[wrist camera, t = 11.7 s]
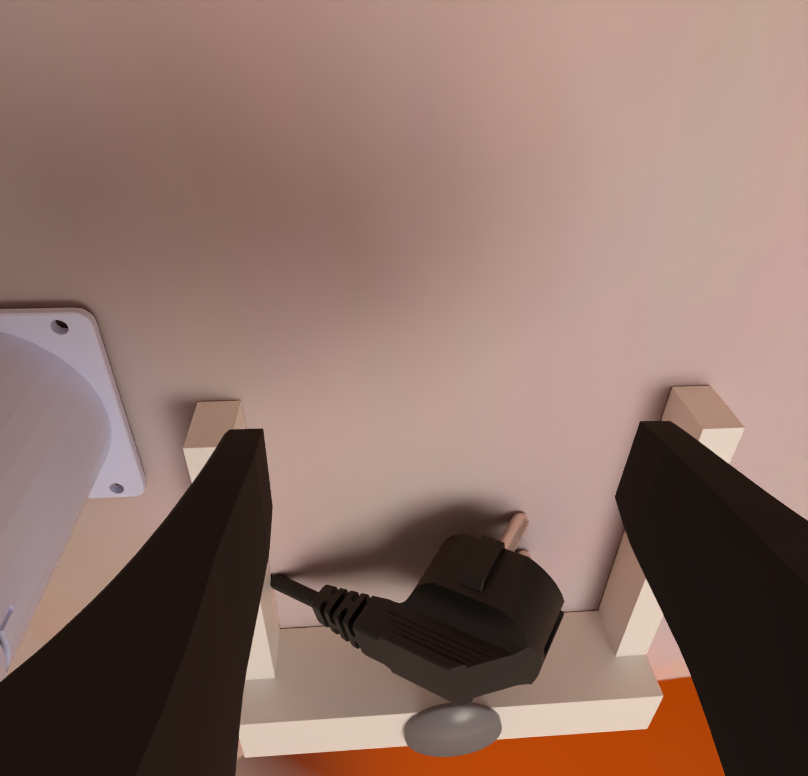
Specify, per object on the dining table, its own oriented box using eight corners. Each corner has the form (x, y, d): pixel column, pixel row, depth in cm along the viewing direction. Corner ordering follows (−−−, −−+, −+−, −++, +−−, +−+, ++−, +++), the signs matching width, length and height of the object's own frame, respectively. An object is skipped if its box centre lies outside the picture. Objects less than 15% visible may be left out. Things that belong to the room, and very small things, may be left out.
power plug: (243, 555, 26) (511, 677, 20) (346, 439, 31) (587, 510, 25) (281, 631, 29) (521, 755, 23) (369, 516, 34) (587, 594, 28)
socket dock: (257, 672, 32) (245, 771, 29) (197, 402, 22) (166, 500, 18) (611, 650, 34) (646, 742, 30) (710, 385, 23) (783, 473, 20)
